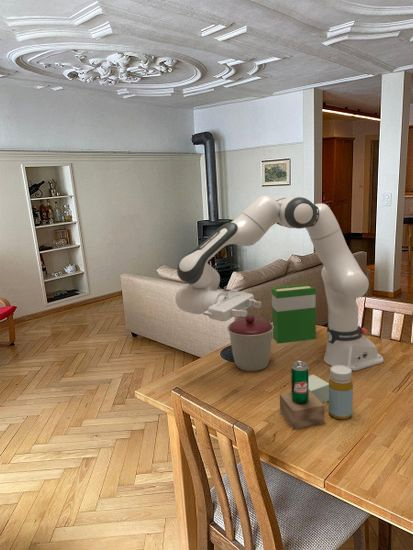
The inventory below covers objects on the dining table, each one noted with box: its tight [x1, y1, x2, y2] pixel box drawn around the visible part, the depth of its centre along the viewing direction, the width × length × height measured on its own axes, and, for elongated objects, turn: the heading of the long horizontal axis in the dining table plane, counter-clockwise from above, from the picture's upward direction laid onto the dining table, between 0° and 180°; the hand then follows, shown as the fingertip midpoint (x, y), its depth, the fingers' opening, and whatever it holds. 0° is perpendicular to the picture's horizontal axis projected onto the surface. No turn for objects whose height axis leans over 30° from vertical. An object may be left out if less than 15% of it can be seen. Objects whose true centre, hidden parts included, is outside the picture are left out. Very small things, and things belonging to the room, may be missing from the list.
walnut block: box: [279, 390, 325, 430], centre depth 126 cm, size 10×10×6 cm
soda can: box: [290, 360, 310, 404], centre depth 124 cm, size 5×5×12 cm
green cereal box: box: [271, 283, 317, 345], centre depth 185 cm, size 18×7×24 cm, turn 98°
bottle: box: [328, 365, 354, 420], centre depth 125 cm, size 7×7×15 cm
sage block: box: [309, 374, 329, 404], centre depth 136 cm, size 8×8×6 cm
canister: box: [226, 314, 274, 372], centre depth 161 cm, size 18×18×21 cm
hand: (253, 309), depth 131 cm, fingers open, 8 cm apart
